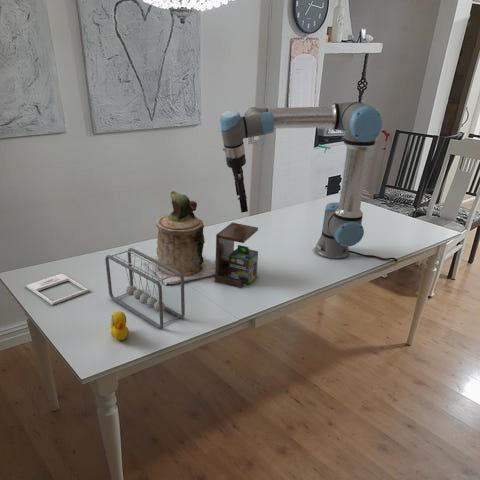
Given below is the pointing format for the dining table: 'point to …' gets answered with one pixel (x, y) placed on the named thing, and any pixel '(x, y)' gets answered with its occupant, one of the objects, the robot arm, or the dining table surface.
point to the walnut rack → (230, 250)
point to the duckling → (119, 326)
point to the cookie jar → (181, 243)
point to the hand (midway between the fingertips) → (242, 203)
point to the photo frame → (51, 282)
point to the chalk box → (243, 264)
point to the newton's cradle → (139, 293)
